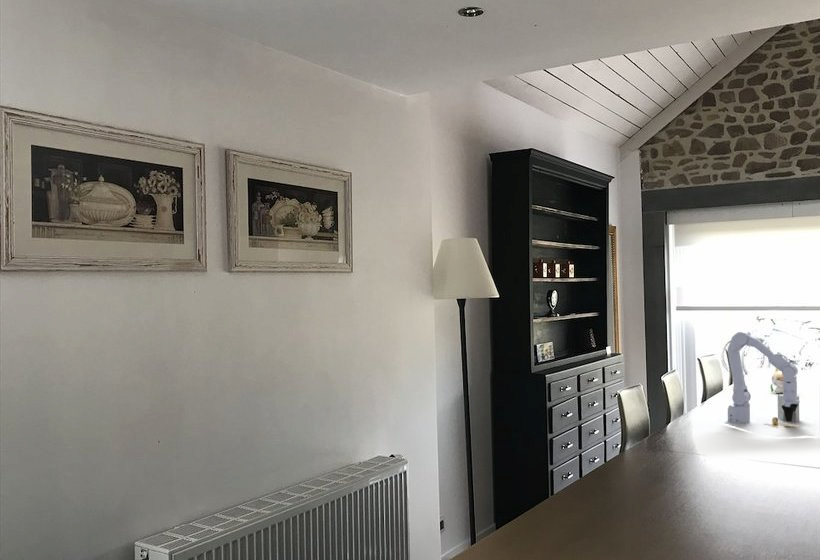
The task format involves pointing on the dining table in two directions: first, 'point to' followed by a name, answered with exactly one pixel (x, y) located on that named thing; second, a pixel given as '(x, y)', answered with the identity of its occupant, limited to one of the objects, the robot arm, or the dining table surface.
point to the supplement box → (780, 410)
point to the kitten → (777, 381)
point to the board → (783, 425)
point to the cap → (794, 418)
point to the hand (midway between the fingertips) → (789, 420)
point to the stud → (775, 421)
